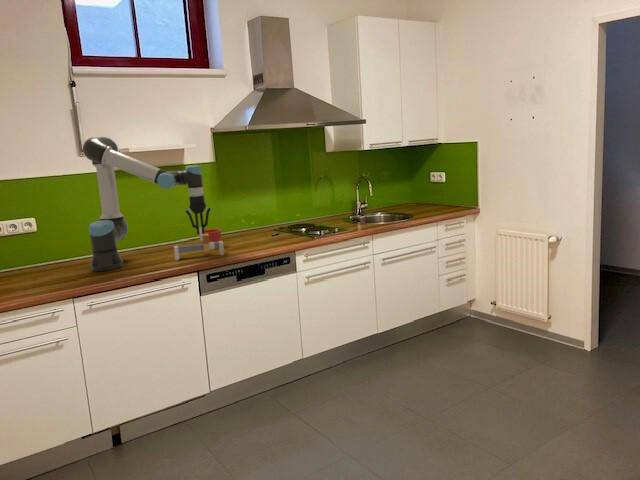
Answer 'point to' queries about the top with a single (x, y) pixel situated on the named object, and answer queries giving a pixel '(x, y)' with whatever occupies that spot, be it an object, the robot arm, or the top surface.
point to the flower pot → (213, 234)
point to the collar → (206, 243)
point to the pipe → (198, 248)
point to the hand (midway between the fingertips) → (201, 240)
